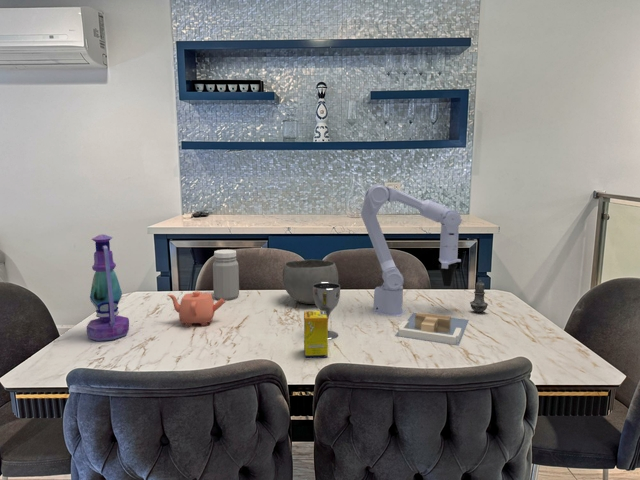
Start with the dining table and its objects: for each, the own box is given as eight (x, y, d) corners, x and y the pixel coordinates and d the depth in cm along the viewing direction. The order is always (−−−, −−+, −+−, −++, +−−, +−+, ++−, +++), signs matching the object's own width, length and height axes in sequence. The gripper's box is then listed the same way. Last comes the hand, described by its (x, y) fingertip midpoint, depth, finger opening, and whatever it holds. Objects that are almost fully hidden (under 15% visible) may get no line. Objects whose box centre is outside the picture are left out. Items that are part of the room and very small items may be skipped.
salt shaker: (488, 317, 150) (490, 281, 148) (470, 315, 151) (472, 280, 149) (486, 311, 156) (488, 277, 154) (468, 310, 157) (470, 277, 155)
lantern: (82, 333, 134) (74, 233, 130) (123, 325, 141) (117, 230, 137) (92, 346, 124) (83, 238, 119) (136, 337, 131) (129, 235, 126)
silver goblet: (343, 331, 136) (343, 283, 133) (335, 341, 128) (335, 290, 126) (318, 328, 138) (318, 281, 136) (309, 337, 131) (308, 287, 128)
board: (394, 337, 131) (394, 335, 131) (413, 314, 152) (413, 312, 152) (458, 347, 123) (458, 345, 123) (468, 321, 145) (468, 319, 145)
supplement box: (303, 349, 122) (303, 310, 120) (325, 349, 123) (325, 310, 121) (304, 358, 116) (304, 317, 114) (327, 358, 117) (328, 317, 115)
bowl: (348, 299, 170) (348, 260, 168) (319, 313, 153) (319, 270, 151) (303, 291, 181) (303, 255, 179) (271, 304, 164) (271, 263, 162)
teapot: (208, 313, 153) (206, 284, 152) (227, 321, 145) (226, 291, 143) (168, 323, 143) (166, 292, 142) (186, 332, 135) (184, 300, 133)
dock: (396, 335, 131) (396, 328, 131) (403, 326, 139) (404, 320, 138) (457, 344, 124) (457, 337, 124) (461, 334, 132) (461, 328, 131)
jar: (236, 301, 168) (235, 253, 165) (210, 300, 168) (208, 253, 165) (241, 294, 178) (240, 249, 175) (216, 293, 178) (215, 248, 175)
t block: (417, 324, 140) (417, 312, 140) (450, 329, 136) (450, 316, 136) (409, 335, 131) (409, 322, 130) (444, 340, 127) (445, 327, 126)
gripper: (458, 249, 141) (456, 292, 143) (464, 243, 154) (462, 282, 156) (435, 248, 144) (433, 289, 146) (443, 242, 157) (441, 280, 159)
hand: (447, 285), depth 151 cm, fingers closed
